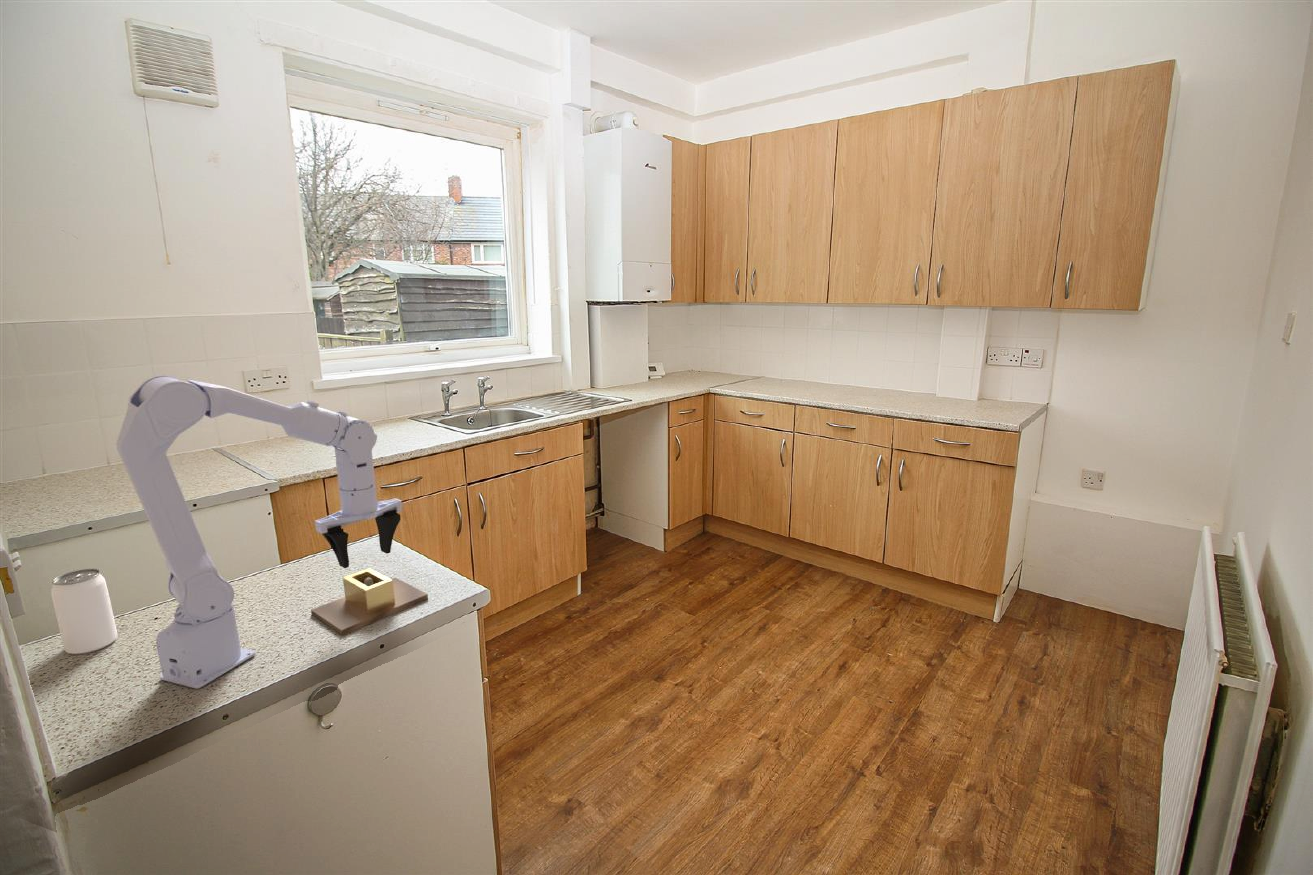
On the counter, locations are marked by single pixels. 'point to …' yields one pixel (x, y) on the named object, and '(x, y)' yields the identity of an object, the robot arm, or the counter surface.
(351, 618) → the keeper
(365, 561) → the counter surface
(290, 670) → the counter surface
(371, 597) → the link
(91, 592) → the can
